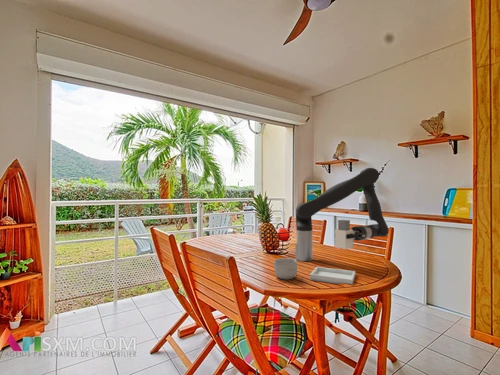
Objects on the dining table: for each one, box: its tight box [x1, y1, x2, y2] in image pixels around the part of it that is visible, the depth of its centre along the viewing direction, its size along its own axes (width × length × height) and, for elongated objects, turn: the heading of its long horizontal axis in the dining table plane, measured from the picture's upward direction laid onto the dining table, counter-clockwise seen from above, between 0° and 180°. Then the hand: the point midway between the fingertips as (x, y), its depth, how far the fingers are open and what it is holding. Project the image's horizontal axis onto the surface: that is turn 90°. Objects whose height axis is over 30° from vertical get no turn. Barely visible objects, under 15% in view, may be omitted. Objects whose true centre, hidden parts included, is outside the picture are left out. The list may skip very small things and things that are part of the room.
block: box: [337, 219, 351, 231], centre depth 139 cm, size 4×4×13 cm
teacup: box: [273, 257, 298, 280], centre depth 128 cm, size 14×11×8 cm
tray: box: [309, 266, 356, 286], centre depth 125 cm, size 18×14×2 cm
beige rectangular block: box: [334, 228, 354, 250], centre depth 139 cm, size 6×6×9 cm
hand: (341, 235), depth 137 cm, fingers closed on beige rectangular block, 6 cm apart
